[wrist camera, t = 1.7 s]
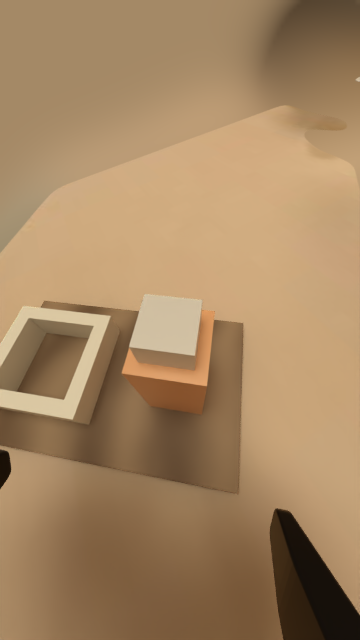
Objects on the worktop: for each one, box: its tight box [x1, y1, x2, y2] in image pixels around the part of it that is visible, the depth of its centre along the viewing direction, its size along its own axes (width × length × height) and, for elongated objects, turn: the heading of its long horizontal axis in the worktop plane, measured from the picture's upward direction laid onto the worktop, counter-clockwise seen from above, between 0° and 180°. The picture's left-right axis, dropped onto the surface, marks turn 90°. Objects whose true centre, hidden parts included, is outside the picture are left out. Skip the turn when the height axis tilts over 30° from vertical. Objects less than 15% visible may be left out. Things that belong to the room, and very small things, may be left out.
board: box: [0, 301, 243, 494], centre depth 22 cm, size 22×14×1 cm, turn 81°
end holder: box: [0, 306, 120, 425], centre depth 21 cm, size 9×9×3 cm
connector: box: [122, 294, 215, 415], centre depth 16 cm, size 4×4×11 cm
